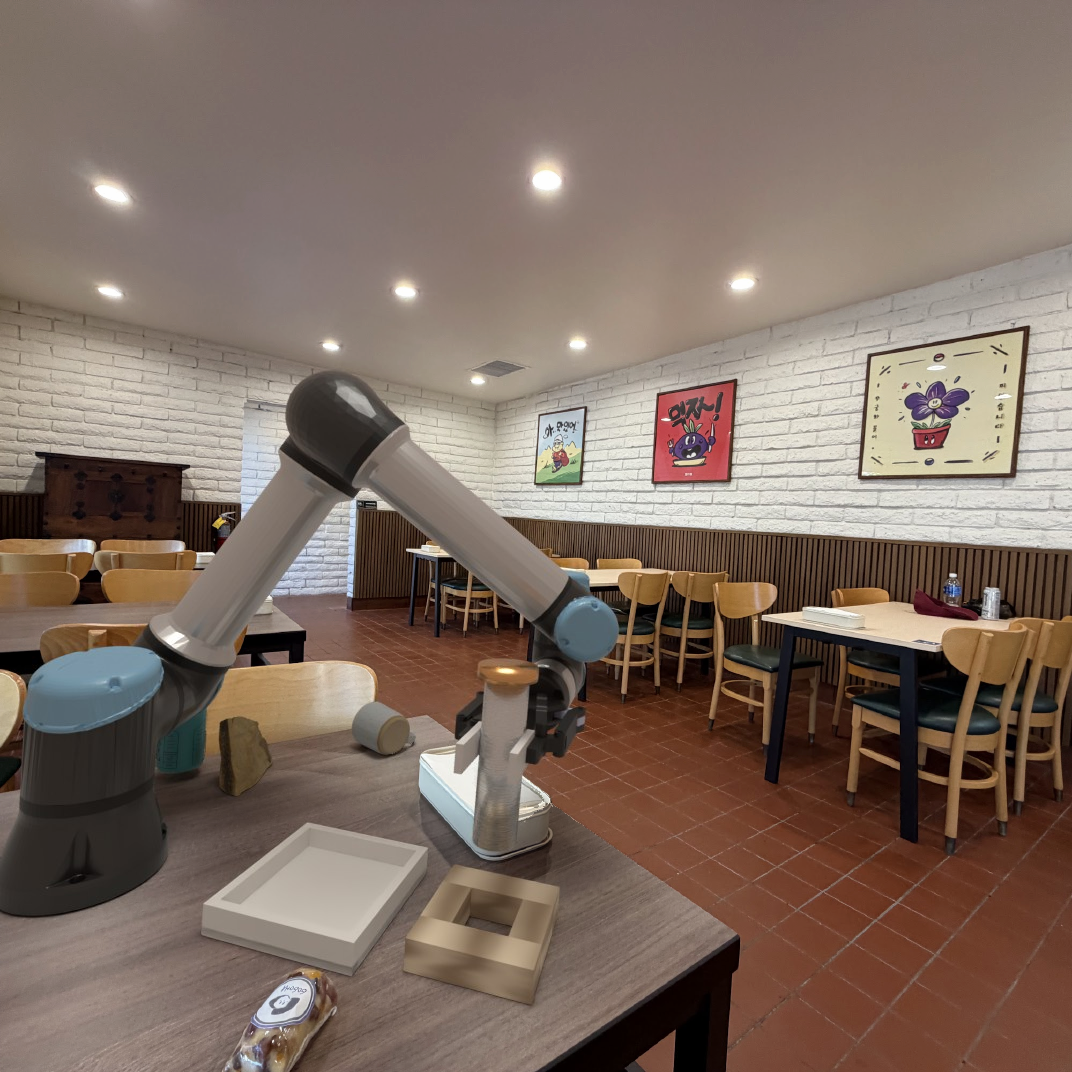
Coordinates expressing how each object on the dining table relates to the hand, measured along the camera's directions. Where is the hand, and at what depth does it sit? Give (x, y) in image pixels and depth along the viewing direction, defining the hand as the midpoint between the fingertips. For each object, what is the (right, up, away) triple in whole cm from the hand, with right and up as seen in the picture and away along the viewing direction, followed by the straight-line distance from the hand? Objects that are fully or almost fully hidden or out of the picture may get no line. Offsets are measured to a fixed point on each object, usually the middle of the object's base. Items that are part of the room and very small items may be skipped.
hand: (485, 763), depth 50 cm
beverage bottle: (-50, -16, +35) cm, 63 cm away
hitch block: (0, -20, +5) cm, 20 cm away
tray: (-18, -18, +9) cm, 27 cm away
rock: (-39, -17, +36) cm, 56 cm away
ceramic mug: (-23, -18, +51) cm, 59 cm away
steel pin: (0, -10, +5) cm, 11 cm away
